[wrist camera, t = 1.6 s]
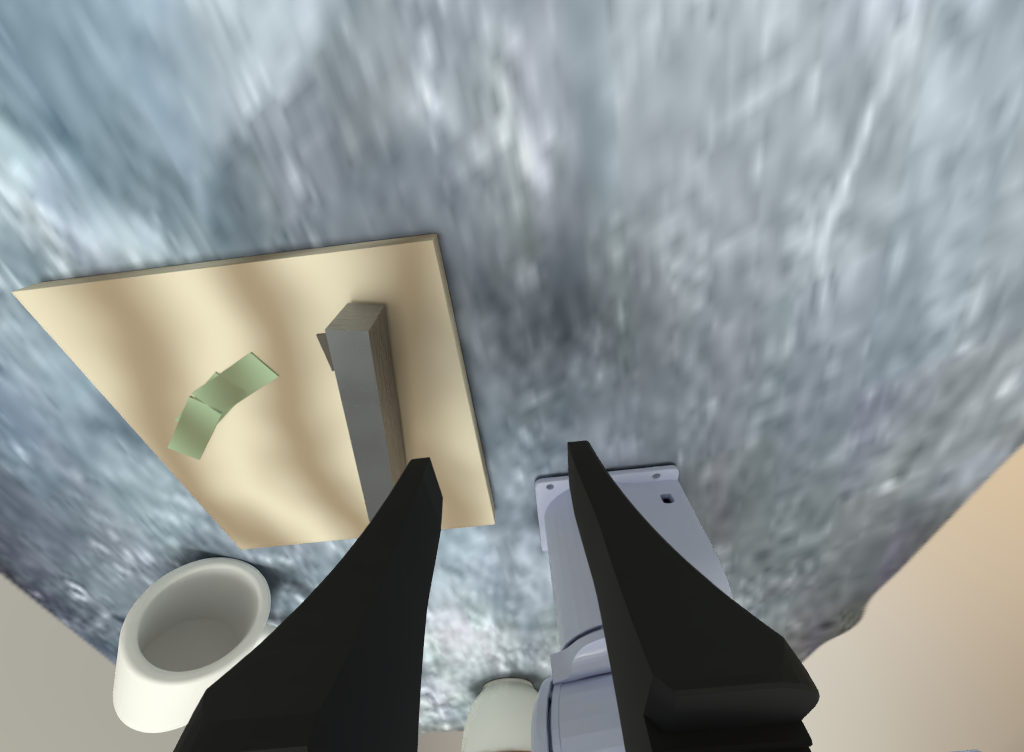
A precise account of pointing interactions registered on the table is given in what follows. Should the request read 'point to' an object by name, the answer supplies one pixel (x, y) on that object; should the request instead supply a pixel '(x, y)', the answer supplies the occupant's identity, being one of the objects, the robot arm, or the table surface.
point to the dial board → (275, 379)
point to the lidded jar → (501, 717)
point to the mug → (187, 639)
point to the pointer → (368, 397)
